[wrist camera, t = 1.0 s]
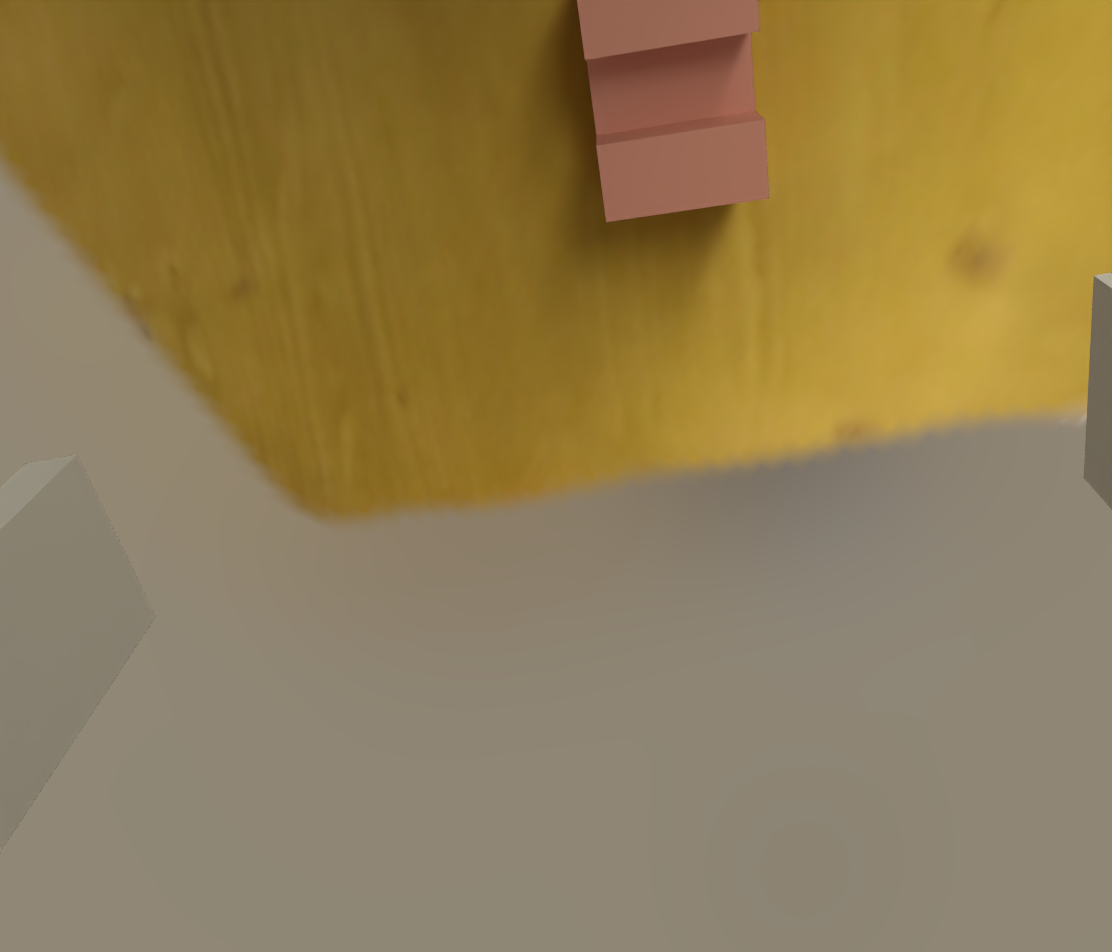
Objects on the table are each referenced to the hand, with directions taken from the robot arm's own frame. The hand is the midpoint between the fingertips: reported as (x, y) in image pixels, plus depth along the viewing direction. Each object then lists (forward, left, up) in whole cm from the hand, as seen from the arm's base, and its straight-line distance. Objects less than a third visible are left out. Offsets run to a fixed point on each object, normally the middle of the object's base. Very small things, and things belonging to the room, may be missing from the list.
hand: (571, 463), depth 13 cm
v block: (-2, +3, -24) cm, 25 cm away
